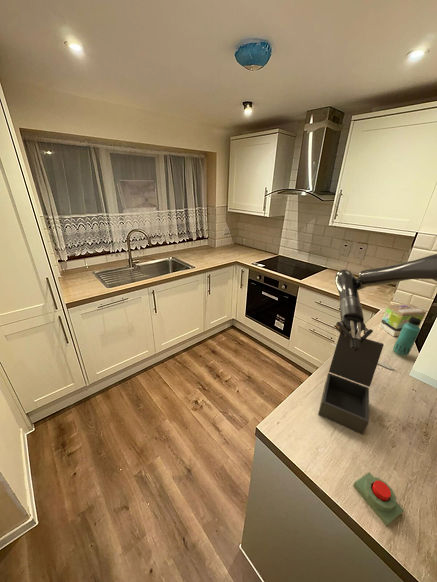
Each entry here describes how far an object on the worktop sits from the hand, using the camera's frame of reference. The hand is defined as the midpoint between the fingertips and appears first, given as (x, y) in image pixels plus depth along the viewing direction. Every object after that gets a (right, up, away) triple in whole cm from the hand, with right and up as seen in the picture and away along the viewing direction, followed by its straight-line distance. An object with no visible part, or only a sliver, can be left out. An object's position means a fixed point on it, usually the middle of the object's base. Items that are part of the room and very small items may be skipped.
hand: (356, 349), depth 80 cm
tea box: (+54, -3, +52) cm, 75 cm away
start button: (-6, -31, -21) cm, 38 cm away
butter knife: (+20, -11, +31) cm, 39 cm away
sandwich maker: (-2, -22, +5) cm, 23 cm away
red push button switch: (-6, -34, -19) cm, 39 cm away
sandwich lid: (+3, -5, +6) cm, 9 cm away
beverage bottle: (+41, -11, +34) cm, 54 cm away
